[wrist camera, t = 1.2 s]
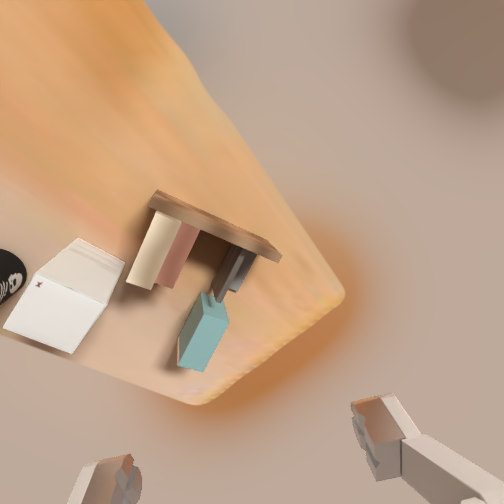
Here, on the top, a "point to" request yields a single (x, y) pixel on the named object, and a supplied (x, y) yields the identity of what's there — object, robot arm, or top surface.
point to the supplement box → (66, 296)
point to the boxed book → (201, 333)
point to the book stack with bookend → (182, 239)
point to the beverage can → (10, 274)
